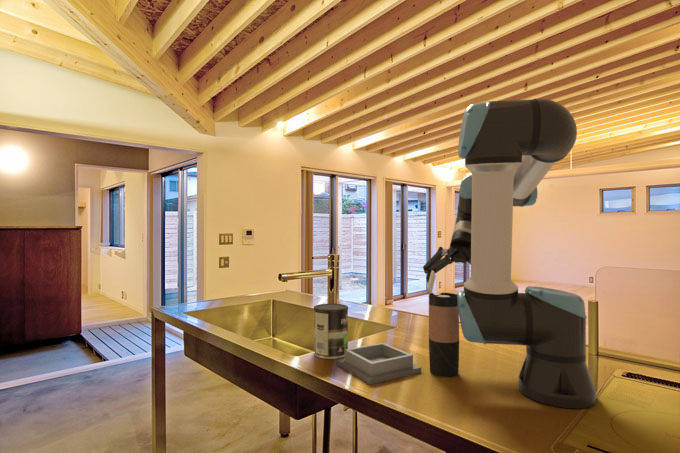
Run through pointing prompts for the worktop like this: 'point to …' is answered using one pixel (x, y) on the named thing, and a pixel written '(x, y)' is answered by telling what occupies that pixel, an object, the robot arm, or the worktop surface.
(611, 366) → the worktop surface
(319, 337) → the coffee can
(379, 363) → the dock
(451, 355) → the travel mug
